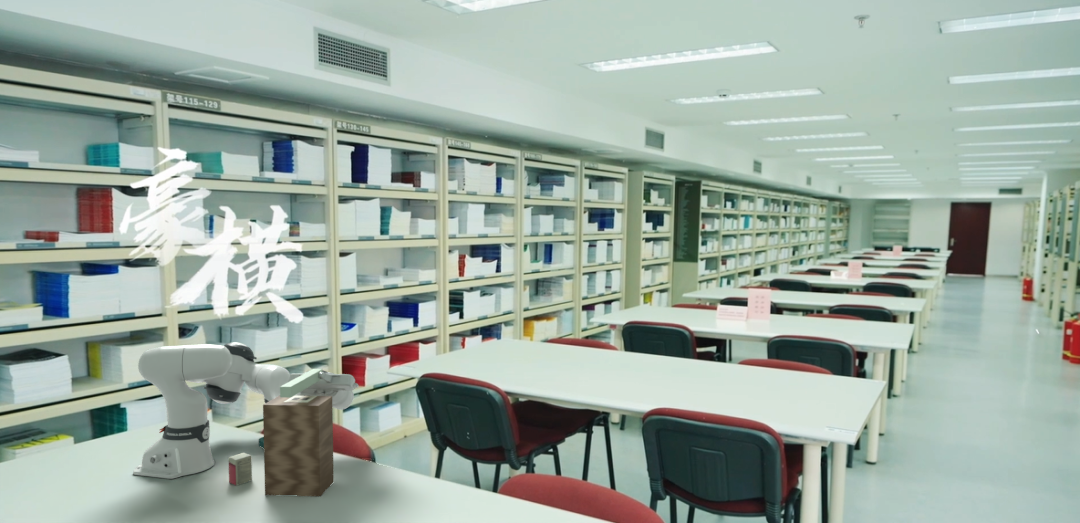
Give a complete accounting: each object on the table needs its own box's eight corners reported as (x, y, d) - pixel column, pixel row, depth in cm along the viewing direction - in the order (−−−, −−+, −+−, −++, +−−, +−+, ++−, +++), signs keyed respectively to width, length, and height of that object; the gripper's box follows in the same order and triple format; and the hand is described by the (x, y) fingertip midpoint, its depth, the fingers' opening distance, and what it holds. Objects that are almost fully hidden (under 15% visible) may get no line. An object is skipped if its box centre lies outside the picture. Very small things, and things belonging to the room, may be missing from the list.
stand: (265, 495, 179) (263, 404, 178) (281, 481, 189) (279, 395, 188) (320, 496, 179) (318, 405, 177) (333, 482, 188) (332, 396, 187)
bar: (280, 397, 174) (280, 386, 174) (313, 378, 196) (312, 369, 196) (290, 397, 174) (290, 386, 174) (322, 378, 196) (322, 369, 196)
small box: (244, 477, 192) (243, 451, 192) (252, 480, 190) (251, 454, 189) (228, 482, 188) (227, 456, 188) (236, 486, 186) (235, 459, 185)
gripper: (358, 397, 203) (345, 385, 191) (296, 396, 204) (278, 384, 192) (361, 378, 206) (348, 365, 194) (300, 377, 207) (283, 364, 195)
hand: (313, 374), depth 193 cm, fingers closed on bar, 3 cm apart
